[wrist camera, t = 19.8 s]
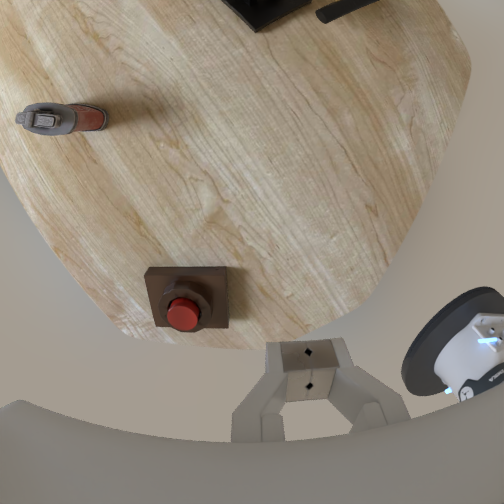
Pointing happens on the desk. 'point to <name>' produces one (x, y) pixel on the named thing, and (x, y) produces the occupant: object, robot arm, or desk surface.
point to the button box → (189, 294)
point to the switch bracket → (263, 10)
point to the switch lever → (340, 9)
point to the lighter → (62, 118)
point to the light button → (183, 314)
